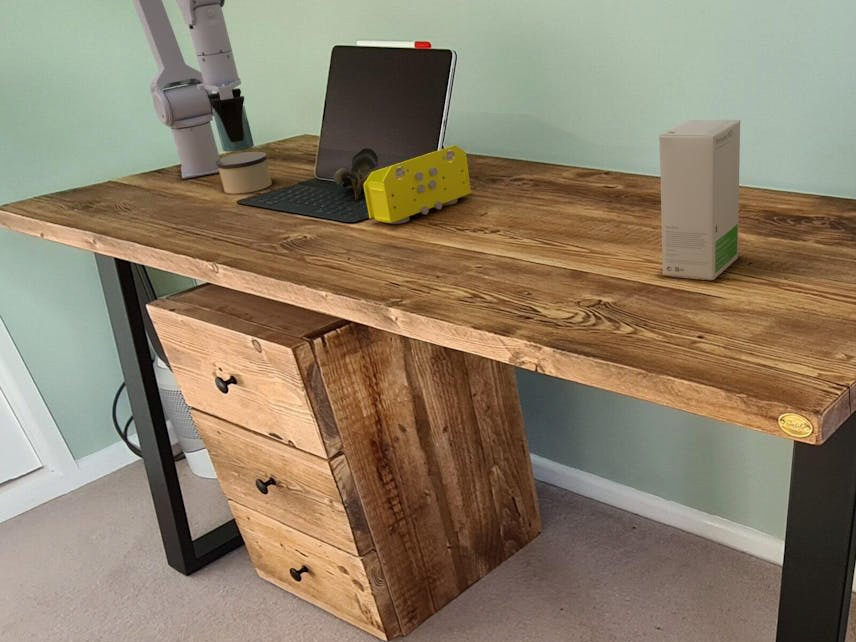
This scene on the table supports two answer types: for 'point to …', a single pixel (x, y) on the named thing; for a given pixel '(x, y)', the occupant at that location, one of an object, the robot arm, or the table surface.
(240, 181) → the jar
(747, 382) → the table surface
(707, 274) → the cosmetic box
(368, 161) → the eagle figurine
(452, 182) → the yellow toy chassis
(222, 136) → the cup
